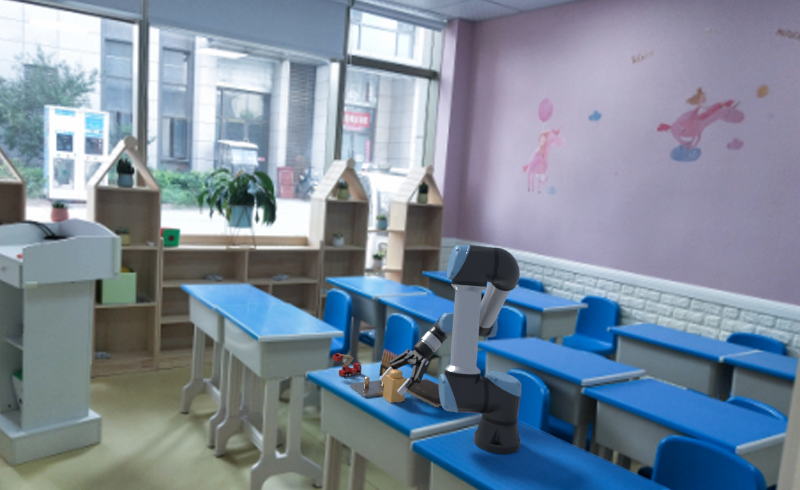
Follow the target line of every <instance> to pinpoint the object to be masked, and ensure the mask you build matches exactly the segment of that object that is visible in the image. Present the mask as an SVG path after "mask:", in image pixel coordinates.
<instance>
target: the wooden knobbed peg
mask: <svg viewBox="0 0 800 490" xmlns="http://www.w3.org/2000/svg"><path fill="white" fill-rule="evenodd" d="M406 380H407V378H406V377H405V376H403V371H402V370H401V369H398V370H390V374H389V375H385V379H384V389H383V395H382V398H383V399H384V398H385V399H386V400H385V399H384V400H385V401H387V402H388V401H389V402H388V403H390V404H394V403H393V402H397V403H403V402H402V401H404V402H405V398H406V397H405V396H406V392H405V393H404V394H403V396H401V395H400V394H399V393H398V392H397V391H398V389H399V388H400V387H401V386H402V385H403V384H404V383H405V382H406Z"/></svg>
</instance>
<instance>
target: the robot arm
mask: <svg viewBox="0 0 800 490" xmlns="http://www.w3.org/2000/svg"><path fill="white" fill-rule="evenodd" d="M448 258H449V259H448V261H447V268H446V278H447V279H448V280H449V281H451V283H450V284H451V286H452V288H453V289H454V293H455V294H454V307H453V312H444V313H442V314H441V316H439V317H438V320H436V321H435V323H434V324H433V325H432V326H431V327H430V328H429V330H428V331H426V332H425V334H424V335H422V337H421V338H420V340H418V341H417V342H416V344H415V345H414V346H413V350H410V349H409V348H407V349H406V350H405V351H404V352H402V353H400V354H398V356H397V357H396V358H394V359H393V360H391V361H390V362H389V365H390V367H389V368H388V369H387V370H386V371H385V373H384V374H383V375H382V376H379V378H378V380H380V381H381V382H382V383H383V384H384V379H385V375H389V374H390V370H395V369H398V370H399V369H400V368H402V367H404V366H407V365H411V366H412V371H411V376H409V377H408V378H406V382H405V383H404V384H403V385H402V386H401V387H400V388H399V389H398V391H397V392H398V393H399V394H400V395H401V396H403V394H404V393H405V394H406V393H407V392H406V391H407V390H408V389H410V387H411V386H412V385H413V384H414V383H418V384H419V383H420V382H421V380H423V377H424V374H425V373H426V371H427V368H428V367H429V365H430V364H431V363H430V362H429V360H430V358H432V356H433V355H434V353H436V351H438V350H439V348H440V347H441V346H442V345H443V344H444V342H445V341H446V340H447V339H448V338H449V337H450V336H451V343H450V358H449V364H448V365H447V366H446V367H445V368H444V373H440V375H439V376H438V385H439V396H440V402H441V405H442V408H443V410H444V411H446V412H454V413H467V414H469V413H471V414H481V419H480V421H479V424H478V426H477V428H476V429H475V432H474V435H473V442H474V444H475V445H476V446H477V447H478V448H480V449H482V450H484V451H487V452H489V453H494V454H501V455H502V454H505V455H506V454H507V455H508V454H509V455H510V454H514V453H517V452H518V451H520V448H521V437H520V433H519V427H518V419H519V412H520V411H519V410H520V402H521V397H522V383H521V381H520V380H519V379H518V378H516V377H515V376H514V375H510V374H508V373H505V372H501V371H495V370H491V371H490V370H489V371H488V372H486V374H485V376H481V370H480V368H479V367H477V362H478V349H479V348H478V347H479V337H480V338H481V337H482V338H494V337H495V336H496V335H497V333H498V329H499V327H498V320H497V318H498V316H499V314H500V311H501V310H502V308H503V306H504V304H505V302H506V300H507V298H508V296H509V295H510V292H511V291H513V290H514V289H515V288H516V287H517V284H518V283H519V281H520V273H521V271H520V266H519V262H518V261H517V259H516V257H514V256H513V254H512V253H510V251H508V250H507V249H504V248H502V247H497V246H496V247H491V246H485V245H484V246H482V245H473V244H457V245H455V246H454V247H453V248H452V251H451V253H450V255H449V257H448ZM484 291H485V292H484ZM483 292H484V295H483V297H482V294H483Z"/></svg>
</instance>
